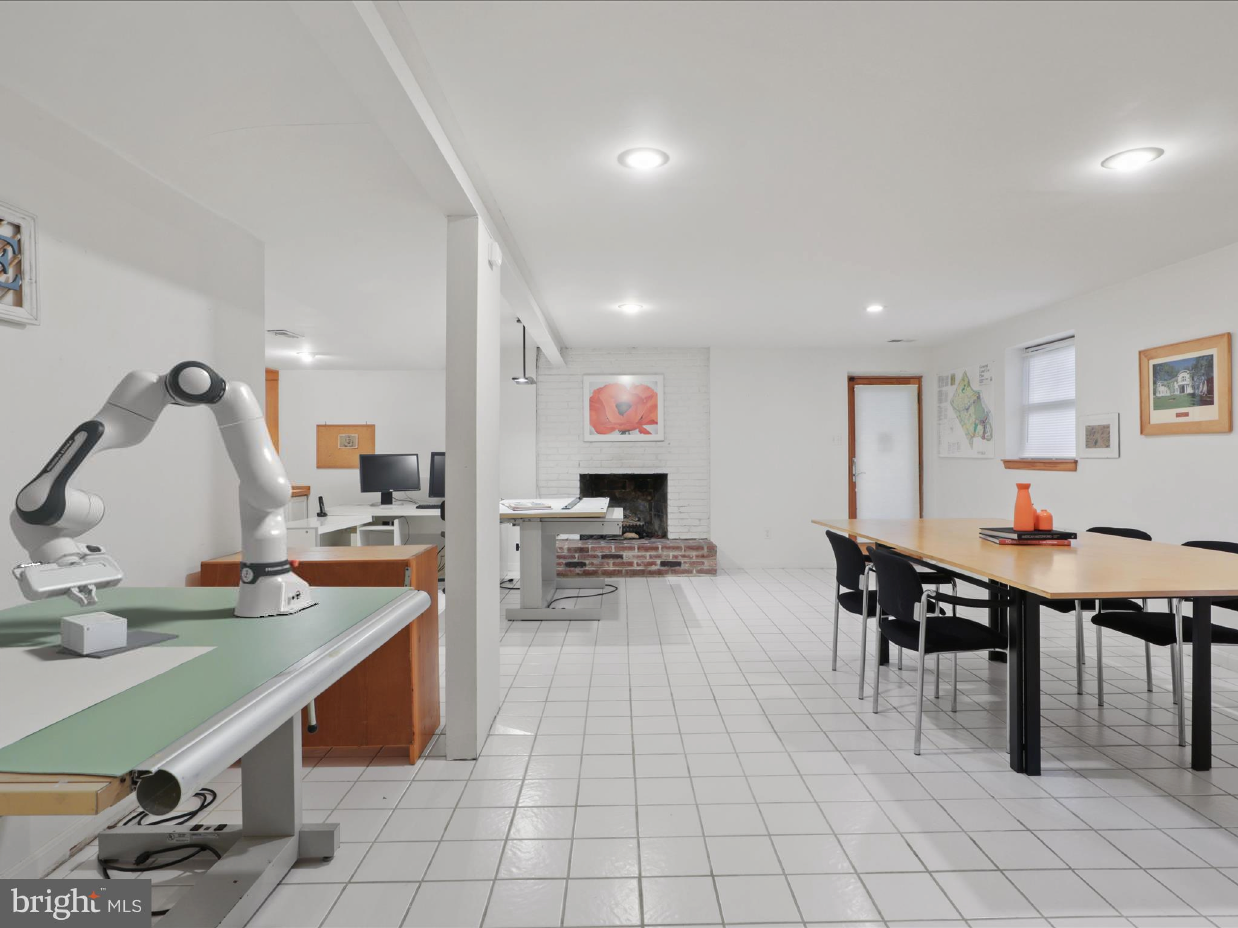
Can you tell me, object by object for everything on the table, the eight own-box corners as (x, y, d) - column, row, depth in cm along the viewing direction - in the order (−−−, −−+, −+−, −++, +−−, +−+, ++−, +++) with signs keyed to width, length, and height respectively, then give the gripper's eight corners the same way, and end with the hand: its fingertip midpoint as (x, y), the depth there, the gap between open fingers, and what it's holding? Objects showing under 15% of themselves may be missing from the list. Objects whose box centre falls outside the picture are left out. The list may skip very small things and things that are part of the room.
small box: (60, 645, 150) (82, 655, 142) (60, 617, 150) (82, 625, 142) (103, 638, 156) (127, 646, 149) (103, 610, 156) (127, 618, 149)
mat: (137, 632, 163) (137, 630, 163) (178, 636, 159) (178, 634, 159) (56, 652, 146) (56, 650, 146) (100, 658, 142) (101, 655, 142)
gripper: (15, 556, 147) (47, 604, 145) (110, 545, 167) (139, 587, 164) (1, 575, 149) (32, 623, 146) (96, 562, 168) (125, 604, 166)
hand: (90, 604), depth 155 cm, fingers closed
